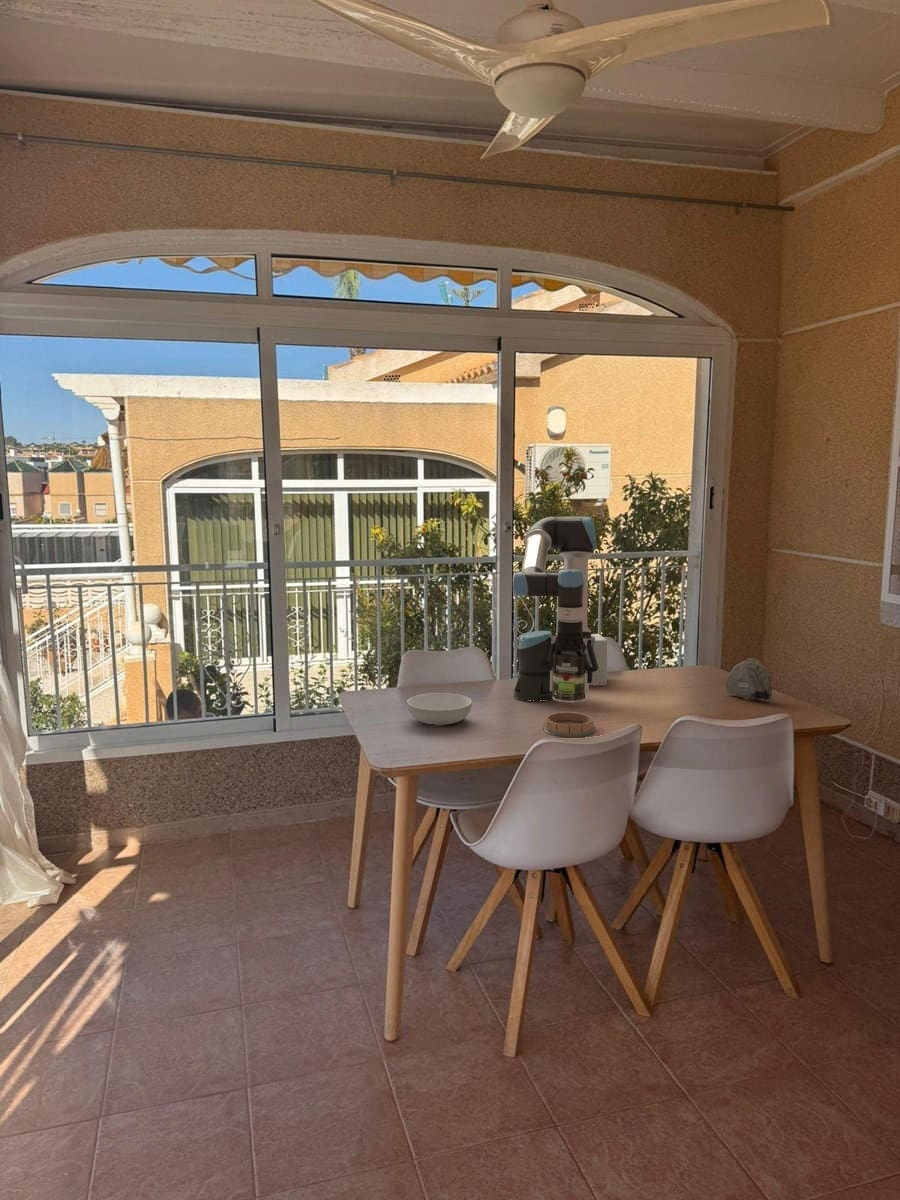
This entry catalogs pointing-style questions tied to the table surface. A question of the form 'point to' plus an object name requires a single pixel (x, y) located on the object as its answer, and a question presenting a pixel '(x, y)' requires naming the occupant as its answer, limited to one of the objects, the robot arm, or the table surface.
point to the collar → (569, 724)
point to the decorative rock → (749, 681)
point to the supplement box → (600, 661)
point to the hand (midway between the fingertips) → (569, 691)
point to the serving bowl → (439, 708)
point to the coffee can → (568, 677)
